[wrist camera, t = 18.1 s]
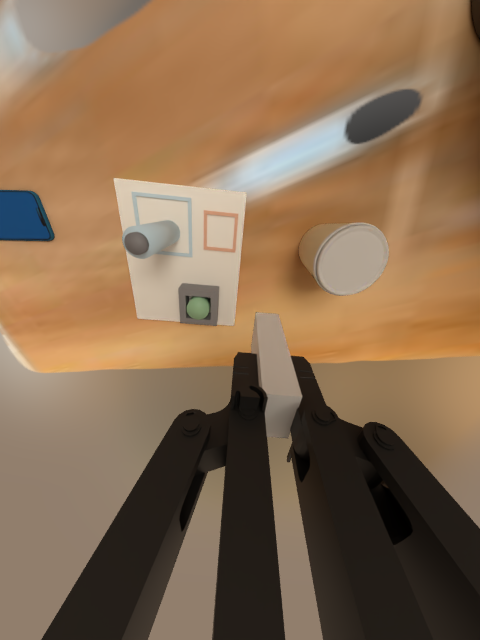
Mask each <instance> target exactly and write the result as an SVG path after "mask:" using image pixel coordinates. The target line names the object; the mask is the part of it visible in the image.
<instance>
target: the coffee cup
mask: <svg viewBox="0 0 480 640" xmlns="http://www.w3.org/2000/svg"><path fill="white" fill-rule="evenodd" d="M388 256H389V247H388V243H387V240H386V238H385V236H384V234H383V233H382V232H381V231H380V230H379V229H378V228H377V227H375V226H373V225H371V224H368V223H339V224H320V225H317V226H314V227H312V228H311V229H309V230H308V231H307V232H306V233H305V235H304V236H303V237H302V239H301V241H300V245H299V257H300V259H301V261H302V263H303V264H304V266H305V267H306V268H307V270H308V271H309V272H310V273H311V275H312V276H313V277H314V278H315V280H316V282H317V283H318V285H319V286H320V287H321V288H322V289H323V290H324V291H326V292H328V293H330V294H333V295H339V296H344V295H352V294H356V293H359V292H361V291H363V290H365V289H367V288H368V287H369V286H371V285H372V284H373V283H374V282H375V281H376V280H377V279H378V278H379V277H380V275H381V274H382V272H383V271H384V269H385V267H386V264H387V261H388Z"/></svg>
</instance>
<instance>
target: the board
mask: <svg viewBox="0 0 480 640" xmlns="http://www.w3.org/2000/svg"><path fill="white" fill-rule="evenodd" d="M114 184H115V190H116V195H117V201H118V207H119V213H120V219H121V225H122V230H123V233H124V231H125V230H126V229H127V228H128V227H131V226H136V225H142V224H147V223H153V222H159V221H165V220H170V221H173V222H174V223H176V224H177V226H178V227H179V230H180V238H179V240H178V241H177V242H175V243H174V244H172V245H170V246H168V247H166V248H164V249H163V250H161V251H159V252H157V253H155V254H153V255H152V256H150V257H148V258H145V259H139V258H136V257H133V256H132V255H131V254H129V253H128V252H127V250H126V254H127V260H128V265H129V271H130V277H131V283H132V289H133V295H134V300H135V306H136V312H137V318H138V319H150V320H163V321H176V322H180V323H186V324H199V325H212V326H217V325H228V326H234V324H235V313H236V302H237V291H238V280H239V269H240V258H241V248H242V237H243V226H244V215H245V204H246V193H245V192H236V191H227V190H218V189H209V188H200V187H191V186H182V185H172V184H163V183H154V182H145V181H136V180H127V179H118V178H114ZM192 296H197V297H208V298H209V300H210V304H211V305H210V309H209V312H208V315H207V316H206V317H205V318H204V319H200V320H197V319H193V318H192V317H190V316H189V315H188V313H187V305H188V303H189V301H190V299H191V297H192Z"/></svg>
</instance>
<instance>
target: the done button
mask: <svg viewBox="0 0 480 640" xmlns="http://www.w3.org/2000/svg"><path fill="white" fill-rule="evenodd" d="M210 305H211V304H210V300H209V298H208V297H197V296H192V297H191V299H190V301H189V303H188V305H187V313H188V315H189V316H190V317H192V318H193V319H197V320H200V319H204V318H205V317H206V316H207V315H208V312H209V309H210Z"/></svg>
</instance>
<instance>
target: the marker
mask: <svg viewBox="0 0 480 640" xmlns="http://www.w3.org/2000/svg"><path fill="white" fill-rule="evenodd" d="M179 238H180V230H179V227H178V226H177V224H176V223H174V222H173V221H170V220H165V221H159V222H153V223H147V224H142V225H136V226H131V227H128V228H127V229H126V230H125V231H124V233H123V236H122V241H123V245H124V247H125V249H126V250H127V252H128V253H129V254H131V255H132V256H133V257H136V258H139V259H145V258H148V257H150V256H152V255H153V254H155V253H157V252H159V251H161V250H163V249H164V248H166V247H168V246H170V245H172V244H174V243H175V242H177V241H178V240H179Z"/></svg>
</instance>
